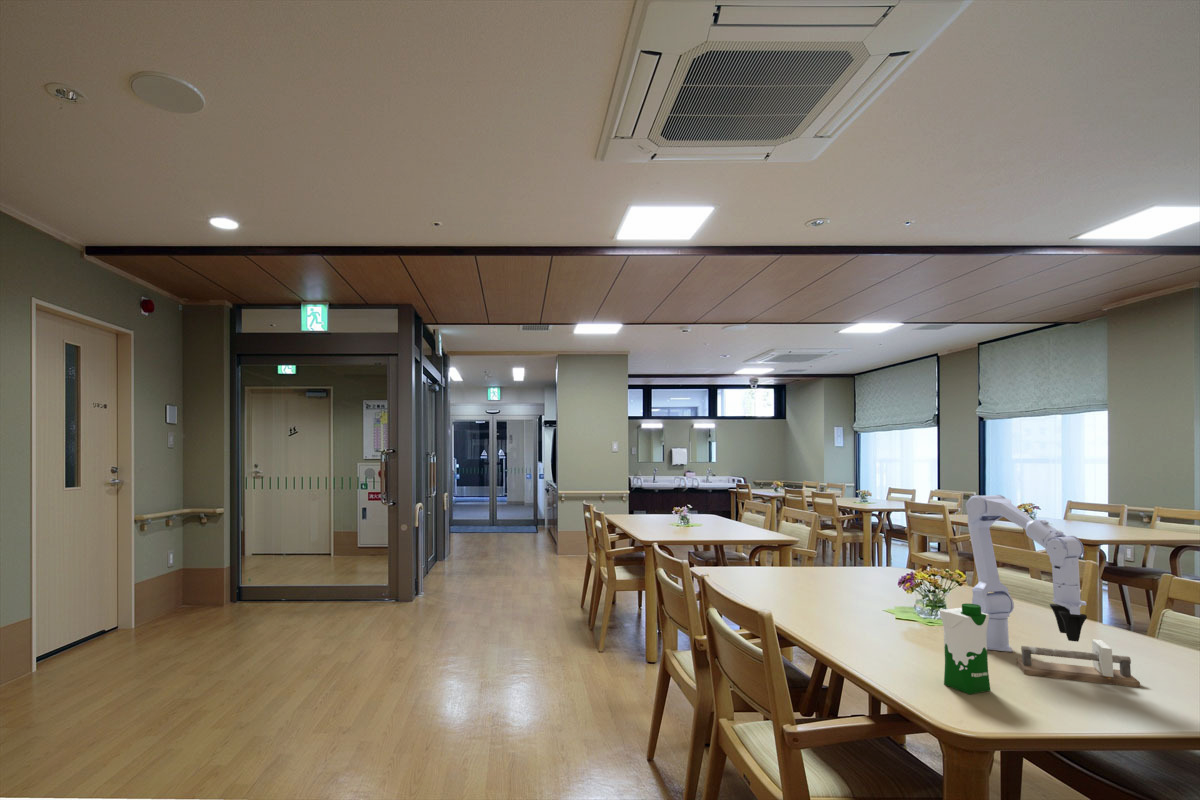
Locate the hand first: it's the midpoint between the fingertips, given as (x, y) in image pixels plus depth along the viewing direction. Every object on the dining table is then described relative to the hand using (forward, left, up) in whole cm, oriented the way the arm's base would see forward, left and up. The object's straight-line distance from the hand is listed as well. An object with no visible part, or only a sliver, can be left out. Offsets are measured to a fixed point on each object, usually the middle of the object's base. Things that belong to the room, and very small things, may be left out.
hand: (1069, 636), depth 167 cm
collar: (+7, 0, -8) cm, 10 cm away
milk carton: (-26, -21, -10) cm, 35 cm away
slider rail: (+1, 0, -9) cm, 9 cm away
